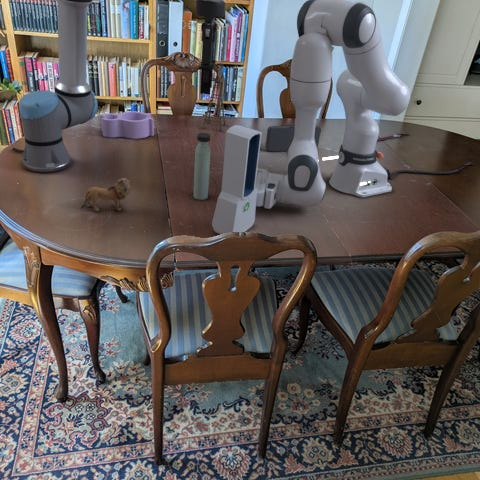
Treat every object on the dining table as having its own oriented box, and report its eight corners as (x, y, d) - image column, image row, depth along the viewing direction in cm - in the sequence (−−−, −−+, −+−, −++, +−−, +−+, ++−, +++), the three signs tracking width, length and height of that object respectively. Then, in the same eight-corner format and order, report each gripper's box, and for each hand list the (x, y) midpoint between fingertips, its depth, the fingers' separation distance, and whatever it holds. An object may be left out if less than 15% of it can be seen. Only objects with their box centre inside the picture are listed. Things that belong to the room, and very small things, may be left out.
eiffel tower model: (220, 131, 201) (226, 58, 185) (202, 128, 202) (205, 55, 186) (225, 124, 209) (231, 54, 193) (207, 122, 210) (211, 51, 194)
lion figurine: (130, 201, 143) (129, 174, 138) (133, 209, 139) (132, 182, 134) (79, 205, 138) (76, 178, 133) (81, 214, 134) (78, 186, 129)
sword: (406, 132, 223) (406, 130, 222) (411, 134, 221) (412, 132, 220) (362, 144, 207) (363, 141, 206) (368, 146, 205) (368, 143, 204)
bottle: (204, 192, 153) (208, 133, 142) (210, 198, 149) (213, 138, 139) (191, 194, 151) (193, 134, 140) (196, 200, 148) (199, 139, 137)
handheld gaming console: (315, 147, 196) (319, 124, 190) (317, 149, 194) (322, 126, 188) (264, 149, 189) (267, 125, 183) (266, 152, 187) (269, 127, 181)
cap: (207, 137, 142) (207, 132, 141) (211, 141, 139) (212, 136, 138) (195, 138, 141) (195, 133, 140) (199, 142, 138) (200, 137, 137)
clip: (103, 139, 182) (102, 122, 178) (101, 128, 192) (100, 111, 188) (155, 138, 188) (155, 121, 184) (150, 127, 198) (149, 111, 194)
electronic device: (232, 242, 129) (242, 138, 113) (210, 232, 132) (217, 130, 116) (255, 224, 138) (267, 126, 122) (233, 216, 141) (243, 119, 125)
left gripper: (199, -6, 127) (196, 80, 140) (192, 1, 111) (189, 98, 124) (226, -4, 128) (221, 82, 140) (223, 5, 112) (217, 101, 124)
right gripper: (275, 165, 153) (233, 159, 153) (271, 192, 135) (224, 186, 136) (272, 182, 156) (231, 177, 157) (269, 211, 139) (223, 205, 139)
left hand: (206, 90), depth 132 cm, fingers open, 6 cm apart
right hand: (228, 181), depth 146 cm, fingers open, 8 cm apart
